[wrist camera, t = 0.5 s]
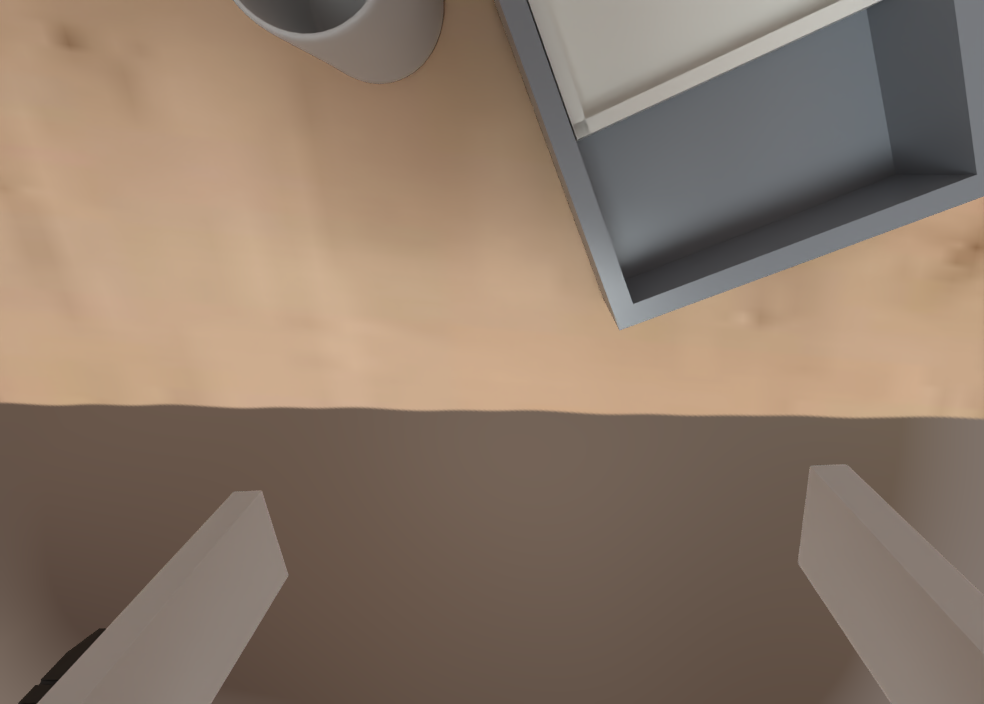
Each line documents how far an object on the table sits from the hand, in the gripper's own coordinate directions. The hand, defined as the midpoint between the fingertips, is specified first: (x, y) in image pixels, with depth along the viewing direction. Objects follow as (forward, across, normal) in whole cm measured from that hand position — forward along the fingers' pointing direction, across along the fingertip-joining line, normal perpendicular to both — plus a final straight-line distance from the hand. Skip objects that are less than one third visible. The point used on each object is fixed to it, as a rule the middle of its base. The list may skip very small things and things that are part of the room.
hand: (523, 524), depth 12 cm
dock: (+25, +12, +11) cm, 30 cm away
